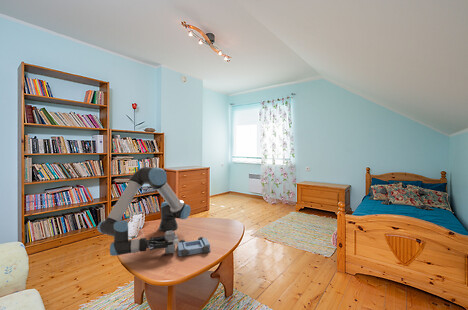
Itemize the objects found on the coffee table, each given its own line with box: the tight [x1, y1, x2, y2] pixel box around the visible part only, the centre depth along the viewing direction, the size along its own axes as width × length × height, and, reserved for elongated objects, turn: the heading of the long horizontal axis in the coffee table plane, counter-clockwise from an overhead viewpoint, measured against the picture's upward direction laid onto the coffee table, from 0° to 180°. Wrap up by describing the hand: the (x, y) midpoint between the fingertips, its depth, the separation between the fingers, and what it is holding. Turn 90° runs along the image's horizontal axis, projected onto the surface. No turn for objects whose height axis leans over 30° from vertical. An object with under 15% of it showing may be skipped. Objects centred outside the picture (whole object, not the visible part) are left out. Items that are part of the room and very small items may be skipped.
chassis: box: [176, 236, 211, 258], centre depth 140 cm, size 16×20×4 cm
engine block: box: [164, 230, 176, 254], centre depth 135 cm, size 6×6×12 cm
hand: (178, 239), depth 137 cm, fingers closed on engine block, 6 cm apart
